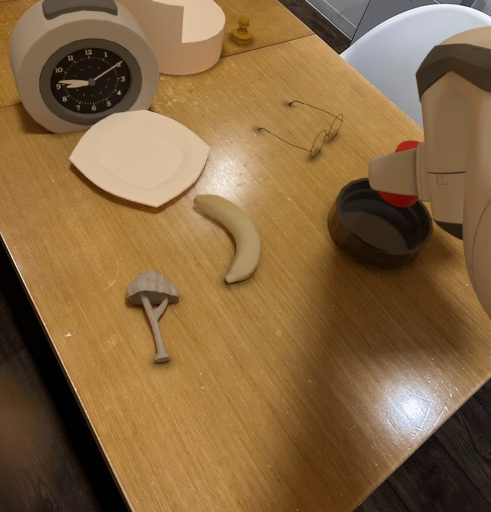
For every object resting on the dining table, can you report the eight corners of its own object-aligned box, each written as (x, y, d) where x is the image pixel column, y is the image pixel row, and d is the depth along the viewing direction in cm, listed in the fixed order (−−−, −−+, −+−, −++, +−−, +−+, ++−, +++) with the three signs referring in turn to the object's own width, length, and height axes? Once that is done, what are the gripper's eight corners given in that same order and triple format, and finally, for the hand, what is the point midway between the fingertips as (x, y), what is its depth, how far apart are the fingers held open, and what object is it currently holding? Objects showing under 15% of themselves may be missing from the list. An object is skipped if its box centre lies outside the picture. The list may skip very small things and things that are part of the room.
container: (230, 75, 97) (241, 8, 86) (125, 74, 92) (123, 3, 81) (210, 18, 108) (218, -47, 97) (116, 15, 102) (113, -55, 92)
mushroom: (140, 355, 56) (128, 262, 61) (130, 368, 60) (119, 278, 65) (197, 350, 60) (180, 262, 65) (184, 362, 63) (169, 278, 68)
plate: (223, 154, 83) (225, 146, 82) (159, 228, 72) (160, 220, 71) (128, 105, 86) (128, 95, 84) (52, 168, 75) (50, 159, 73)
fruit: (234, 197, 78) (237, 182, 76) (272, 274, 71) (277, 260, 68) (191, 205, 76) (192, 191, 73) (226, 286, 68) (229, 273, 66)
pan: (437, 238, 80) (450, 220, 77) (385, 289, 73) (398, 272, 69) (364, 183, 85) (373, 164, 82) (308, 225, 77) (316, 206, 74)
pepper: (423, 207, 70) (455, 160, 63) (384, 207, 69) (413, 160, 62) (408, 176, 74) (437, 129, 66) (371, 176, 72) (397, 128, 65)
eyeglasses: (254, 132, 88) (259, 109, 84) (291, 102, 95) (298, 79, 91) (306, 164, 85) (315, 142, 81) (340, 131, 92) (350, 109, 88)
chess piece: (229, 34, 105) (232, 11, 101) (246, 33, 106) (250, 11, 102) (235, 45, 103) (239, 22, 99) (252, 44, 104) (257, 21, 100)
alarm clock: (29, 137, 78) (0, 17, 63) (20, 107, 82) (-9, -14, 66) (158, 119, 86) (162, 7, 70) (146, 92, 90) (146, -20, 74)
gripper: (558, 127, 58) (468, 135, 71) (413, 143, 51) (343, 149, 64) (557, 181, 59) (468, 180, 72) (415, 204, 53) (346, 198, 65)
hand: (408, 165), depth 68 cm, fingers closed on pepper, 6 cm apart
